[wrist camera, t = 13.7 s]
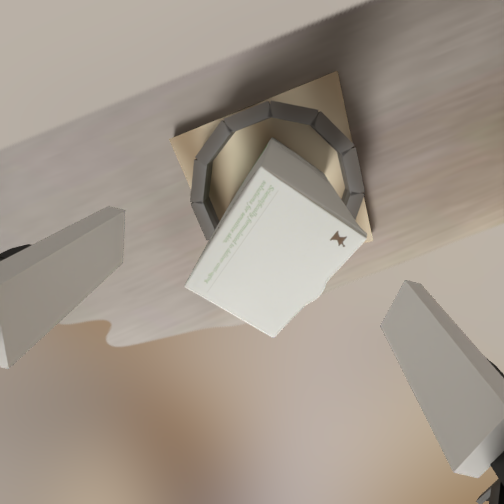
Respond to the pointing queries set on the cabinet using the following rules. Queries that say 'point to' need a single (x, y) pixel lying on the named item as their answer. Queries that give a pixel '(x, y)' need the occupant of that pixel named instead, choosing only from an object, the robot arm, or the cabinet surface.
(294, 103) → the collar
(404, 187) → the cabinet surface
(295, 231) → the skincare box
